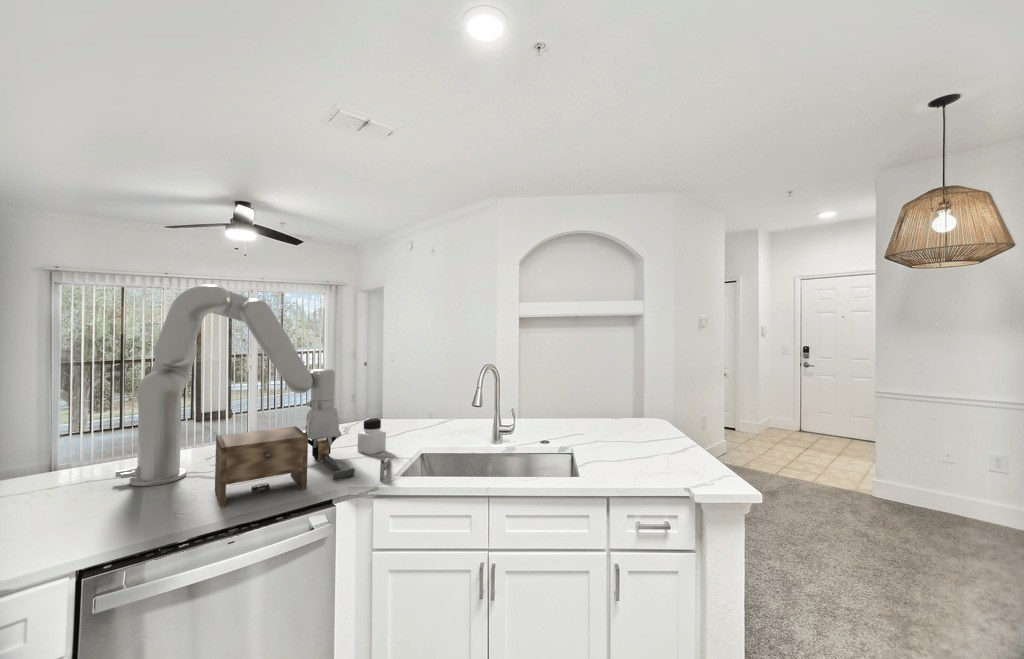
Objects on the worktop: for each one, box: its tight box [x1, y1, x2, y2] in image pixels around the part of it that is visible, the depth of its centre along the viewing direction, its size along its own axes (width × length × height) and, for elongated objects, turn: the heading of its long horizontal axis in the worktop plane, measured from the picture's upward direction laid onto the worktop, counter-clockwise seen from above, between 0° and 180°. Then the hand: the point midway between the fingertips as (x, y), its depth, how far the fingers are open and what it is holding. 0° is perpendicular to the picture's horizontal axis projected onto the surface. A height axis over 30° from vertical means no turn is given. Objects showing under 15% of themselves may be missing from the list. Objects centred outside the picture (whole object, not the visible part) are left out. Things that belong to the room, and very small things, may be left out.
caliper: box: [379, 457, 391, 482], centre depth 134 cm, size 20×1×6 cm, turn 11°
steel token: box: [250, 482, 270, 492], centre depth 116 cm, size 4×4×1 cm
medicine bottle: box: [357, 417, 387, 456], centre depth 153 cm, size 7×7×12 cm
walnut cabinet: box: [214, 426, 309, 508], centre depth 114 cm, size 20×15×15 cm
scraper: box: [317, 438, 355, 482], centre depth 136 cm, size 6×28×6 cm, turn 40°
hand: (321, 456), depth 144 cm, fingers closed on scraper, 2 cm apart
